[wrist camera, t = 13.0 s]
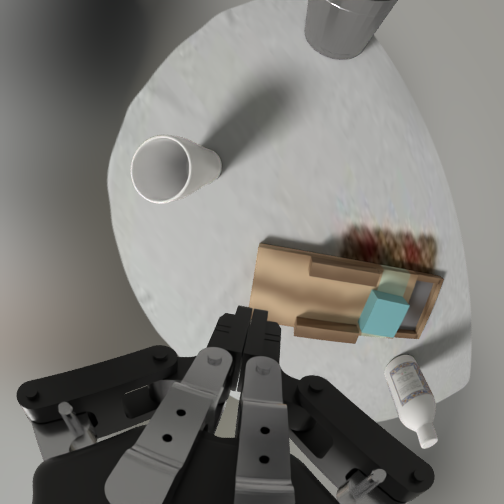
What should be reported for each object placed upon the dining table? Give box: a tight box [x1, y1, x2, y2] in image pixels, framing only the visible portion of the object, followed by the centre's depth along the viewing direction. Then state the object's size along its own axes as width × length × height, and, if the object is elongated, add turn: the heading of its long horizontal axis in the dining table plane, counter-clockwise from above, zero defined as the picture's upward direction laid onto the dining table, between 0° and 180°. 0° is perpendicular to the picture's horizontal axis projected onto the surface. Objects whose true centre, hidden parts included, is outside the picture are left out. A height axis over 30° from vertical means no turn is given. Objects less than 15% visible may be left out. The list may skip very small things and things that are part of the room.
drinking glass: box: [131, 135, 222, 204], centre depth 30 cm, size 7×7×15 cm
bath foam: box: [384, 355, 438, 449], centre depth 35 cm, size 7×7×20 cm
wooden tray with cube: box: [249, 243, 444, 344], centre depth 39 cm, size 12×32×4 cm, turn 82°
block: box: [358, 289, 410, 338], centre depth 37 cm, size 6×6×3 cm
